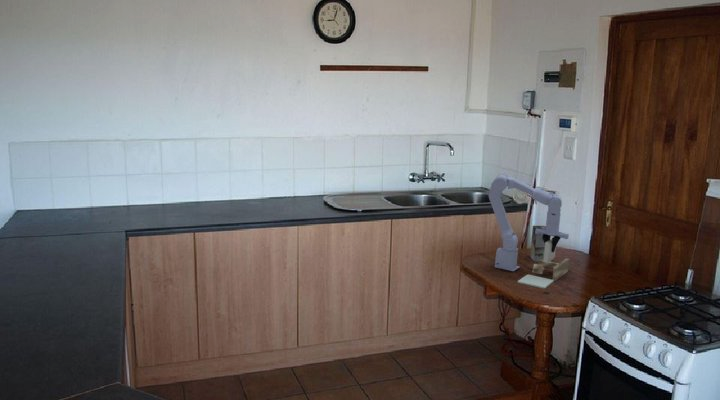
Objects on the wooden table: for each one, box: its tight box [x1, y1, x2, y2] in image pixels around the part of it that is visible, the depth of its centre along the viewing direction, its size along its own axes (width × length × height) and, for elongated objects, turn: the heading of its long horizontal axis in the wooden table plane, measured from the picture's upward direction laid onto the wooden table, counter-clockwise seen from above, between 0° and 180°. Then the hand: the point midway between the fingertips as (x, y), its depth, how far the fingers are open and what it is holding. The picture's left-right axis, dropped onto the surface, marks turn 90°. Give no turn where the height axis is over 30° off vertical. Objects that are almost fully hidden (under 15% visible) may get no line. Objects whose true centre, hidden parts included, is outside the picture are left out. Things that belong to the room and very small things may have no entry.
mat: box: [517, 274, 555, 289], centre depth 264 cm, size 12×12×1 cm
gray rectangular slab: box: [543, 238, 557, 263], centre depth 274 cm, size 2×10×9 cm, turn 144°
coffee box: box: [529, 225, 546, 263], centre depth 296 cm, size 9×6×16 cm
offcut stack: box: [531, 263, 545, 275], centre depth 279 cm, size 5×8×2 cm, turn 158°
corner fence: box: [536, 257, 570, 282], centre depth 277 cm, size 14×19×6 cm
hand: (550, 251), depth 275 cm, fingers closed on gray rectangular slab, 2 cm apart
